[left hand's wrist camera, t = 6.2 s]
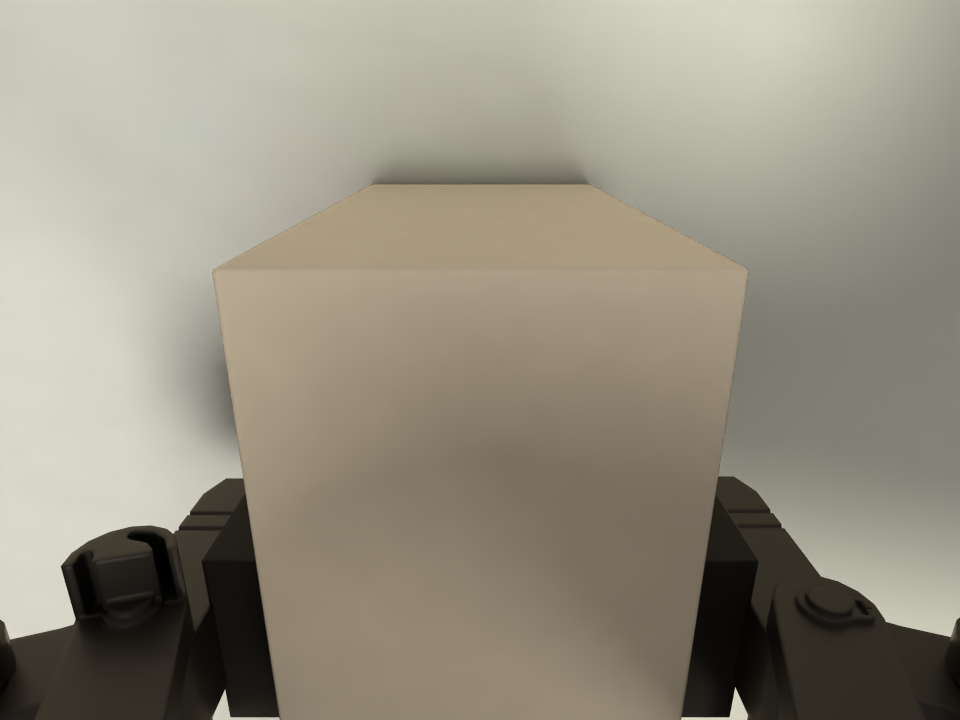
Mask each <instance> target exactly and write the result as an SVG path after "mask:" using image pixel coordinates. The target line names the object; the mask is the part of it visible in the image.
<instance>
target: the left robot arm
mask: <svg viewBox="0 0 960 720" xmlns="http://www.w3.org/2000/svg"><path fill="white" fill-rule="evenodd" d="M61 569H62V572H63V576H64V579H65V583H66V586H67V590H68V593H69V597H70V600H71V604H72V607H73V611H74V615H75V618H76V620H75V623H74V625H71V626H68V627H64V628H61V629H56V630H52V631H47V632H43V633H38V634H34V635H29V636H25V637H20V638H16V639H11V640H10V639H9V636H8V633H7V630H6V627H5V624H4V622H3V621H1V620H0V720H213V718H212V717H213V715H214V712H215V710H216V708H217V706H218V704H219V701H220V699H221V697H222V695H223V692H224V690H226V695H227V701H228V706H229V711H230V717H279V711H278V704H277V698H276V691H275V684H274V678H273V671H272V664H271V658H270V651H269V645H268V638H267V631H266V625H265V618H264V611H263V605H262V598H261V591H260V585H259V578H258V572H257V565H256V558H255V552H254V545H253V538H252V532H251V525H250V518H249V512H248V505H247V498H246V492H245V485H244V479H225V480H224V481H222V482H221V483H219V484H218V485H216V486H215V487H213V488H212V489H210V490H209V491H207V492H206V493H204V494H203V495H202V497H201V498H200V499H199V501H198V502H197V503H196V505H195V506H194V507H193V509H192V510H191V511H190V515H187V517H186V518H185V519H184V521H183V522H182V523H181V525H180V526H179V530H178V531H175V533H174V534H172V533H171V532H170V531H169V530H167V529H165V528H160V527H155V526H134V527H128V528H124V529H120V530H116V531H112V532H109V533H106V534H104V535H102V536H100V537H97V538H95V539H93V540H90V541H88V542H87V543H86V544H84V545H83V546H81V547H80V548H78V549H77V550H75V551H74V552H73V553H71V555H70V556H69V557H68V558H67V559H66V561H65V562H64V563H63V564H62V566H61ZM735 687H736V689H737V692H738V694H739V696H740V698H741V700H742V703H743V705H744V707H745V709H746V711H747V713H748V718H747V720H960V618H959V619H957V621H956V624H955V627H954V630H953V633H952V636H951V637H948V636H943V635H938V634H934V633H929V632H925V631H920V630H916V629H911V628H907V627H902V626H898V625H895V624H891V623H888V622H885V619H884V618H883V616H882V615H881V613H880V612H879V610H878V609H877V608H876V606H875V605H874V604H873V603H872V602H871V601H869V600H868V599H867V598H866V597H864V596H863V595H862V594H861V593H859V592H858V591H856V590H854V589H852V588H850V587H848V586H846V585H844V584H842V583H840V582H838V581H834V580H831V579H827V578H824V577H821V576H820V575H819V574H818V572H817V571H816V570H815V568H814V567H813V566H812V564H811V563H810V562H809V560H808V559H807V558H806V556H805V555H804V554H803V552H802V551H801V550H800V548H799V547H798V546H797V544H796V543H795V542H794V541H793V539H792V538H791V537H790V535H789V534H788V533H787V531H786V530H785V529H784V528H782V527H781V523H780V522H779V521H778V519H777V518H776V517H775V515H774V514H773V513H770V509H769V507H768V506H767V505H766V504H765V502H764V501H763V500H762V498H761V497H760V496H759V494H758V493H757V492H756V491H755V490H753V489H752V488H750V487H749V486H747V485H746V484H744V483H743V482H741V481H740V480H738V479H737V478H735V477H718V479H717V486H716V493H715V499H714V506H713V512H712V519H711V526H710V532H709V539H708V545H707V552H706V559H705V565H704V572H703V578H702V585H701V592H700V598H699V605H698V611H697V618H696V625H695V631H694V638H693V645H692V651H691V658H690V664H689V671H688V678H687V684H686V691H685V697H684V704H683V711H682V717H730V711H731V706H732V701H733V695H734V690H735Z"/></svg>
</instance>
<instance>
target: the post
mask: <svg viewBox="0 0 960 720" xmlns="http://www.w3.org/2000/svg"><path fill="white" fill-rule="evenodd" d="M748 274H749V273H748V269H747V268H745V267H743V266H741V265H739V264H737V263H735V262H734V261H732V260H730V259H728V258H726V257H724V256H722V255H720V254H719V253H717V252H715V251H713V250H711V249H709V248H707V247H705V246H704V245H702V244H700V243H698V242H696V241H694V240H692V239H691V238H689V237H687V236H685V235H683V234H681V233H679V232H677V231H676V230H674V229H672V228H670V227H668V226H666V225H664V224H662V223H661V222H659V221H657V220H655V219H653V218H651V217H649V216H647V215H646V214H644V213H642V212H640V211H638V210H636V209H634V208H632V207H631V206H629V205H627V204H625V203H623V202H621V201H619V200H617V199H616V198H614V197H612V196H610V195H608V194H606V193H604V192H602V191H601V190H599V189H597V188H595V187H593V186H591V185H589V184H372V185H370V186H368V187H366V188H364V189H362V190H360V191H358V192H357V193H355V194H353V195H351V196H349V197H347V198H345V199H343V200H342V201H340V202H338V203H336V204H334V205H332V206H330V207H329V208H327V209H325V210H323V211H321V212H319V213H317V214H315V215H314V216H312V217H310V218H308V219H306V220H304V221H302V222H300V223H299V224H297V225H295V226H293V227H291V228H289V229H287V230H286V231H284V232H282V233H280V234H278V235H276V236H274V237H272V238H271V239H269V240H267V241H265V242H263V243H261V244H259V245H257V246H256V247H254V248H252V249H250V250H248V251H246V252H244V253H242V254H241V255H239V256H237V257H235V258H233V259H231V260H229V261H228V262H226V263H224V264H222V265H220V266H218V267H216V268H214V270H213V279H214V286H215V293H216V299H217V306H218V313H219V319H220V326H221V332H222V339H223V346H224V352H225V359H226V366H227V372H228V379H229V386H230V392H231V399H232V406H233V412H234V419H235V425H236V432H237V439H238V445H239V452H240V459H241V465H242V472H243V479H244V485H245V492H246V498H247V505H248V512H249V518H250V525H251V532H252V538H253V545H254V552H255V558H256V565H257V572H258V578H259V585H260V591H261V598H262V605H263V611H264V618H265V625H266V631H267V638H268V645H269V651H270V658H271V664H272V671H273V678H274V684H275V691H276V698H277V704H278V711H279V718H280V720H681V717H682V711H683V704H684V697H685V691H686V684H687V678H688V671H689V664H690V658H691V651H692V645H693V638H694V631H695V625H696V618H697V611H698V605H699V598H700V592H701V585H702V578H703V572H704V565H705V559H706V552H707V545H708V539H709V532H710V526H711V519H712V512H713V506H714V499H715V493H716V486H717V479H718V473H719V466H720V459H721V453H722V446H723V440H724V433H725V426H726V420H727V413H728V407H729V400H730V393H731V387H732V380H733V374H734V367H735V360H736V354H737V347H738V340H739V334H740V327H741V321H742V314H743V307H744V301H745V294H746V288H747V281H748Z"/></svg>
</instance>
